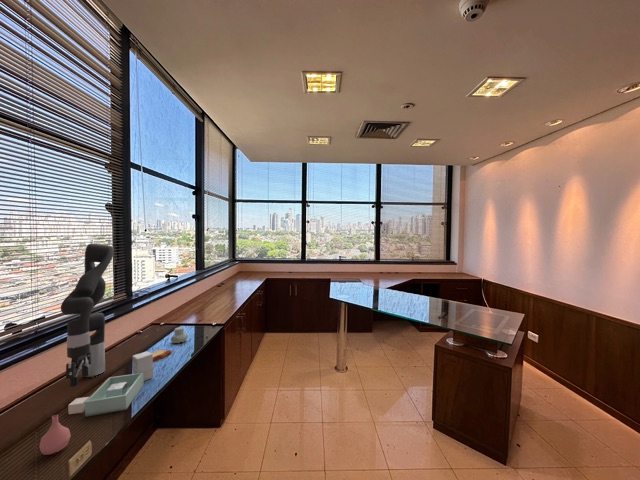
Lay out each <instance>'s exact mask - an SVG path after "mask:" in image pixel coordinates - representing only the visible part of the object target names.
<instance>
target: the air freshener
mask: <svg viewBox="0 0 640 480" xmlns="http://www.w3.org/2000/svg"><path fill="white" fill-rule="evenodd" d="M184 330H185V328H184V327H183V326H182V327H181V326H180V327H179V326H177V327H175V328H174V334H173V335H172V336H171V337H170V341H171V342H172V343H173V344H175V343H178V344H181V343H180V342H182V343H184V342H186V341H187V339H188V337H189V336H188V334H186V333H185V331H184Z"/></svg>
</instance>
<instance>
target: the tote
mask: <svg viewBox="0 0 640 480" xmlns="http://www.w3.org/2000/svg"><path fill="white" fill-rule="evenodd" d="M123 382H127V392H126V394H125V395H120V396H114V397H108V398H106V390H107V389H108V388H109V387H110V386H111V385H112V384H117V383H123ZM143 386H144V381H143V373H137V374H133V373H131V374H125V375H118V376H117V375H116V376H110V377H108V378H107V379H106V380H105V381H104V382H103V383H102V384H101V385H100V386H99V387H98V389H96V391H94V392H93V394H91V395H90V396H89V399H88V400H87V401H86V402H85V410H84V417H85V418H86V417H91V416H97V415H103V414H109V413H113V412H120V411H126V410H127V409H128V408H129V406H130V405H131V403H132V402H133V400H134V399H135V397H136V396H137V395H138V393H139V392H140V390H141V388H142V387H143Z"/></svg>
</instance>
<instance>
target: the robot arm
mask: <svg viewBox="0 0 640 480" xmlns="http://www.w3.org/2000/svg"><path fill="white" fill-rule="evenodd" d="M114 250H115V249H114V247H113V245H108V244H100V243H88V244H87V245H86V247H85V251H84V274H82V275H81V276H80V278H79V279H78V281H77V283H76V285H75V287H74V289H73V290H72V291H71V292H70V293H69V294H68V295H67V296H66V297H65V298H64V299H63V301H62V303H61V305H60V311H61V313H62V315H66V316H70V315H79V318H76V319H72V320H69V321H68V322H67V324H66V325H67V326H66V327H67V328H66V329H67V336H66V337H67V338H66V356H67V358H70V359H71V361H70V362H69V363H66V364H65V379H66V380H67V379H69V382H70V383H69V384H70V385H69V387H71V388H72V387H74V388H75V387H77V386H78V385H79V384H78V382H79V381H78V374H79V372H80V371H81V378H82V377H87V376H93V375H98V374H101V373H103V372H104V371H105V372H106V353H105V352H106V351H105V349H106V348H105V334H106V333H105V329H106V317H105V314H104V313H103V312H97V313H92V312H93V309H95V308H94V307H96V306H97V305H98V304H99V302H101V300H102V299H103V298H104V296H105V294H106V286H107V285H106V281H105V279H104V277H103V274H104V273H105V271H106V270H107V268H108V266H109V265H110V264H111V262H112V259H113V257H114V253H115V251H114ZM96 263H98V264H97V265H96ZM90 332H93V333H92V334H91V335H90ZM105 372H104V373H105ZM104 373H103V374H104ZM101 375H102V374H101Z"/></svg>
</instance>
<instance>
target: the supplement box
mask: <svg viewBox="0 0 640 480" xmlns="http://www.w3.org/2000/svg"><path fill="white" fill-rule="evenodd" d="M137 373H143V382H145V381H147V380H150V379H152V378H153V379H154V362H153V354H151V352H150V351H143V352H140V353H136V354H134V355H132V374H137Z"/></svg>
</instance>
